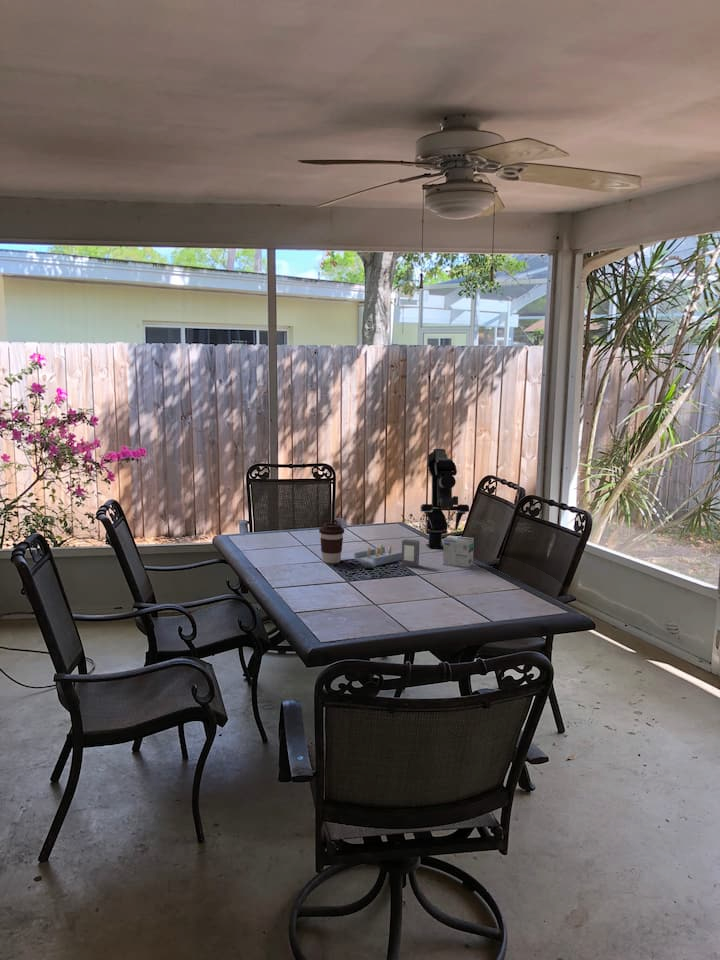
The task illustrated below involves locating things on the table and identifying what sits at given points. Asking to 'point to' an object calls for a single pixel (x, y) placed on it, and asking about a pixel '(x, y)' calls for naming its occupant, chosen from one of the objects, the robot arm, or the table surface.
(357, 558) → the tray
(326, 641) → the table surface
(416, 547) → the block
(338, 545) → the coffee cup
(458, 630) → the table surface
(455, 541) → the light bulb box
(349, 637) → the table surface
